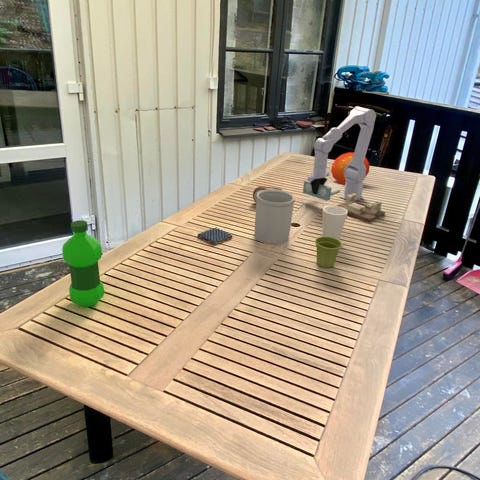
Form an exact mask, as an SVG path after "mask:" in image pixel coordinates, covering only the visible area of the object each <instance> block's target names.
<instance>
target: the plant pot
mask: <svg viewBox="0 0 480 480" xmlns="http://www.w3.org/2000/svg"><path fill="white" fill-rule="evenodd" d="M314 242H315V248H316V264H317V265H318V266H319V267H321V268H324V269H329V268H333V266H334V265H335V263H336V259H337V257H338V253H339V251H340V249H341V248H342V247H343V243H342V241H341V240H340V239H339V240H338V239H336V238H333V237H323V236H319V237H316V238H315V240H314Z"/></svg>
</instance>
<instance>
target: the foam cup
mask: <svg viewBox="0 0 480 480" xmlns="http://www.w3.org/2000/svg"><path fill="white" fill-rule="evenodd" d="M347 213H348V211H347V210H346V209H345V208H342V207H338V206H337V205H326V206H324V207H323V208H322V237H333V238H336V239H338V240H339V241H340V239H341V236H342V232H343V229H344V226H345V223H346V220H347V218H348V215H347Z"/></svg>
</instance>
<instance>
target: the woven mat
mask: <svg viewBox="0 0 480 480" xmlns="http://www.w3.org/2000/svg"><path fill="white" fill-rule="evenodd" d="M196 237H197V238H199V239H200V240H202V241H204V242H206V243H208V244H211V245H212V246H217V245H220V244H221V243H224V242H226V241H229V240H232V239H233V235H232V234H231V233H229V232H226V231H225V230H223V229H220V228H218V227H216V226H215V227H212V228H211V229H210V228H209V229H208V230H204V231H202V232H199V233H198V234H197V236H196Z"/></svg>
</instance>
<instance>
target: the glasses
mask: <svg viewBox="0 0 480 480" xmlns="http://www.w3.org/2000/svg"><path fill="white" fill-rule="evenodd" d="M307 180H308V179H306V180H304V181H303V189H302V194H306V195H308V196H311V197H314V198H318V199H320V200H323V201H326V202H328V201H331V196H334V195H337V194H339V193H341V190H340V189H337V190H334V191H332V187H331V186H329V185H325V184H324V185H322V184H320V185H319V188H318V192H317V194H313V193H312V186H311V183H310V181H307Z"/></svg>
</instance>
